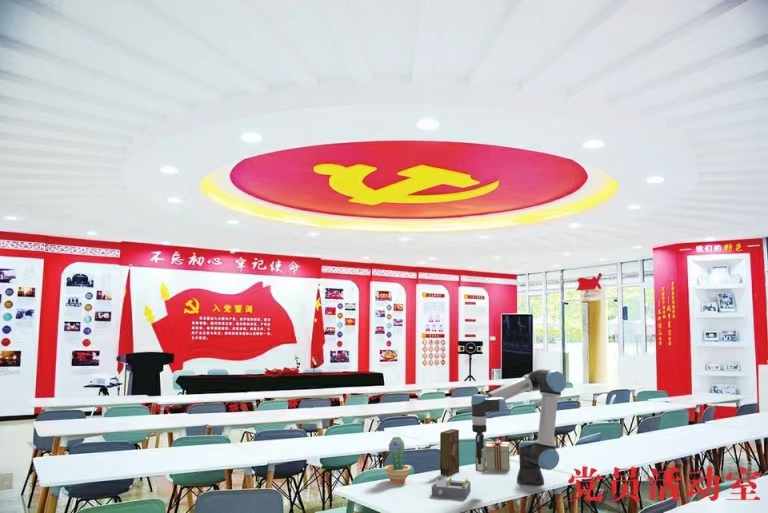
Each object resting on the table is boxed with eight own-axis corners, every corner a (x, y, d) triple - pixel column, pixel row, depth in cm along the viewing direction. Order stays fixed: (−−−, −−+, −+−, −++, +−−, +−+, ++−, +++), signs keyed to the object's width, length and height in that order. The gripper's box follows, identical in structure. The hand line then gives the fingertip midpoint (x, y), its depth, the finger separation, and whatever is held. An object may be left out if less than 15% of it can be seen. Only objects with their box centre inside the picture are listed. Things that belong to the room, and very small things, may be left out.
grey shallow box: (470, 491, 307) (470, 476, 308) (465, 500, 289) (464, 485, 290) (437, 488, 312) (437, 474, 313) (430, 497, 295) (430, 482, 296)
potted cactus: (378, 481, 326) (378, 436, 329) (396, 477, 337) (396, 433, 340) (398, 486, 315) (398, 440, 319) (416, 481, 326) (416, 436, 330)
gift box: (480, 464, 373) (480, 437, 375) (509, 465, 370) (508, 438, 373) (481, 470, 356) (481, 442, 359) (511, 471, 354) (511, 443, 356)
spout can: (486, 469, 304) (485, 442, 306) (485, 472, 299) (484, 444, 301) (476, 469, 306) (475, 441, 308) (475, 471, 300) (474, 443, 302)
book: (452, 470, 356) (451, 429, 360) (460, 471, 353) (459, 429, 357) (440, 475, 342) (440, 432, 346) (448, 476, 340) (448, 433, 343)
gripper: (474, 421, 315) (476, 464, 312) (469, 426, 298) (471, 472, 295) (488, 421, 313) (489, 465, 310) (484, 427, 296) (485, 473, 292)
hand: (480, 468), depth 302 cm, fingers closed on spout can, 5 cm apart
